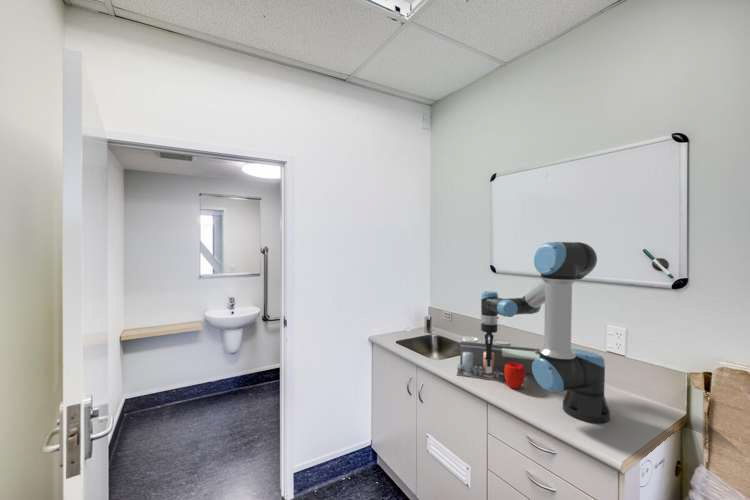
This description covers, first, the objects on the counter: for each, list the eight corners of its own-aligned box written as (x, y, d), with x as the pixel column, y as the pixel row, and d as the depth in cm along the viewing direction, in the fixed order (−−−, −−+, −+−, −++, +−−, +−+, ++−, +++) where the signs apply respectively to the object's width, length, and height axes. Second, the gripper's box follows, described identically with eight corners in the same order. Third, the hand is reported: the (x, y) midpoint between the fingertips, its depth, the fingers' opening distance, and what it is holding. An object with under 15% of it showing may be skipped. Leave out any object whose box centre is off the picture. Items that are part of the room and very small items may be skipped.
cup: (486, 356, 187) (486, 339, 187) (468, 358, 183) (468, 341, 183) (477, 352, 195) (477, 335, 195) (460, 354, 191) (460, 337, 191)
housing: (546, 387, 146) (546, 359, 146) (456, 375, 159) (456, 349, 159) (541, 373, 162) (541, 348, 162) (460, 363, 175) (460, 340, 175)
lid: (544, 361, 148) (544, 356, 148) (502, 356, 154) (502, 352, 154) (541, 353, 159) (541, 349, 159) (501, 349, 165) (501, 345, 165)
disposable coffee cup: (491, 365, 173) (492, 343, 172) (491, 360, 182) (491, 338, 182) (511, 368, 170) (511, 345, 170) (509, 362, 179) (510, 340, 179)
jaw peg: (483, 372, 157) (483, 353, 157) (483, 368, 162) (483, 350, 162) (493, 373, 156) (494, 355, 156) (493, 370, 160) (494, 351, 160)
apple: (523, 393, 140) (523, 368, 140) (502, 388, 144) (502, 364, 144) (526, 386, 147) (526, 362, 147) (506, 381, 152) (506, 358, 152)
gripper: (497, 328, 149) (497, 378, 149) (497, 320, 166) (496, 365, 166) (480, 326, 152) (479, 376, 152) (481, 318, 168) (481, 363, 169)
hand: (488, 370), depth 159 cm, fingers closed on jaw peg, 5 cm apart
